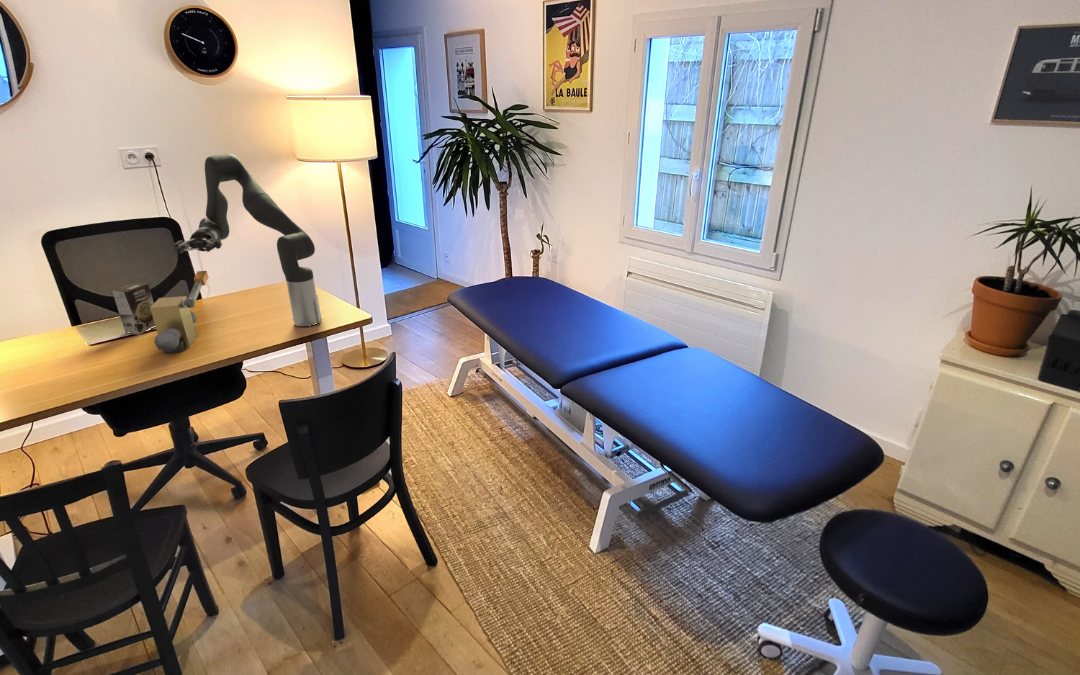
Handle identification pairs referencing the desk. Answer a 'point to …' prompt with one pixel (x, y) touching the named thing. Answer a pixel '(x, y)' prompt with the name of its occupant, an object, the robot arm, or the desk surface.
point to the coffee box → (135, 307)
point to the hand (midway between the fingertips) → (193, 249)
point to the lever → (196, 287)
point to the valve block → (173, 324)
